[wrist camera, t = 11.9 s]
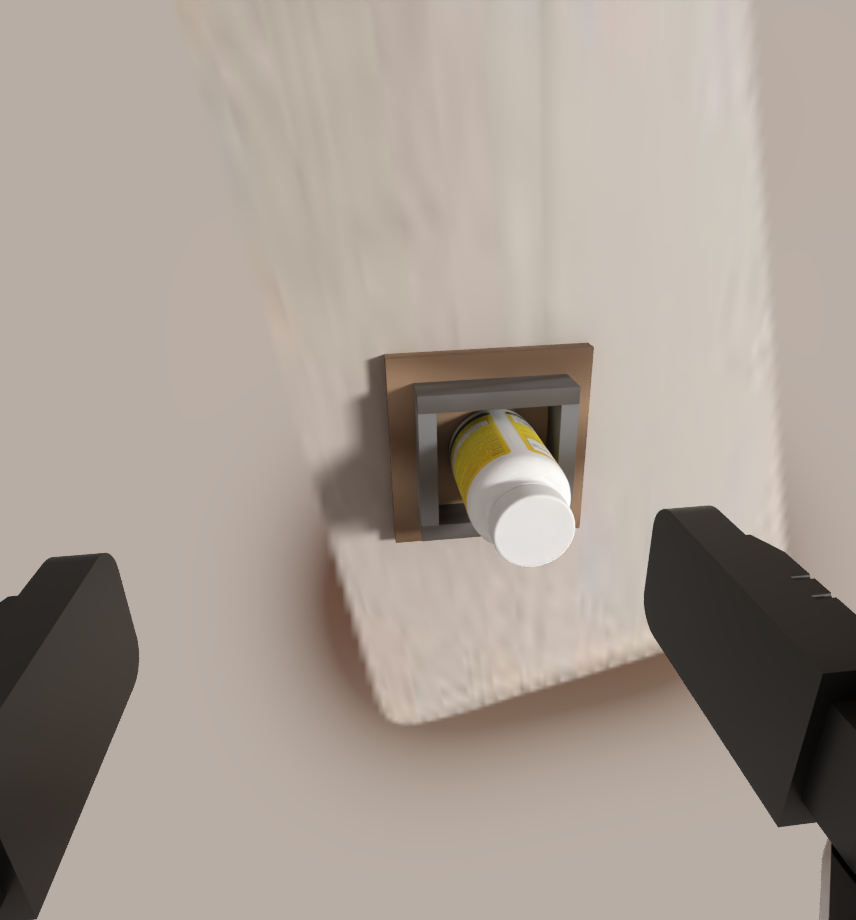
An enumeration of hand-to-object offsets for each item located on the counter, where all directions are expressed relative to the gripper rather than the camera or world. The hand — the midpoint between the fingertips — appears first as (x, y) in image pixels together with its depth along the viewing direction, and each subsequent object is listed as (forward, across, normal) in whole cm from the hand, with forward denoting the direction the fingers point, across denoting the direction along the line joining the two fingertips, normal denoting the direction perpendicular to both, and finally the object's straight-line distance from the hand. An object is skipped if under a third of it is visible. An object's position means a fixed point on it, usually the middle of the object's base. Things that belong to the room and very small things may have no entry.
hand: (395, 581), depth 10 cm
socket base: (+28, -7, +10) cm, 31 cm away
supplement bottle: (+27, -7, +10) cm, 30 cm away
